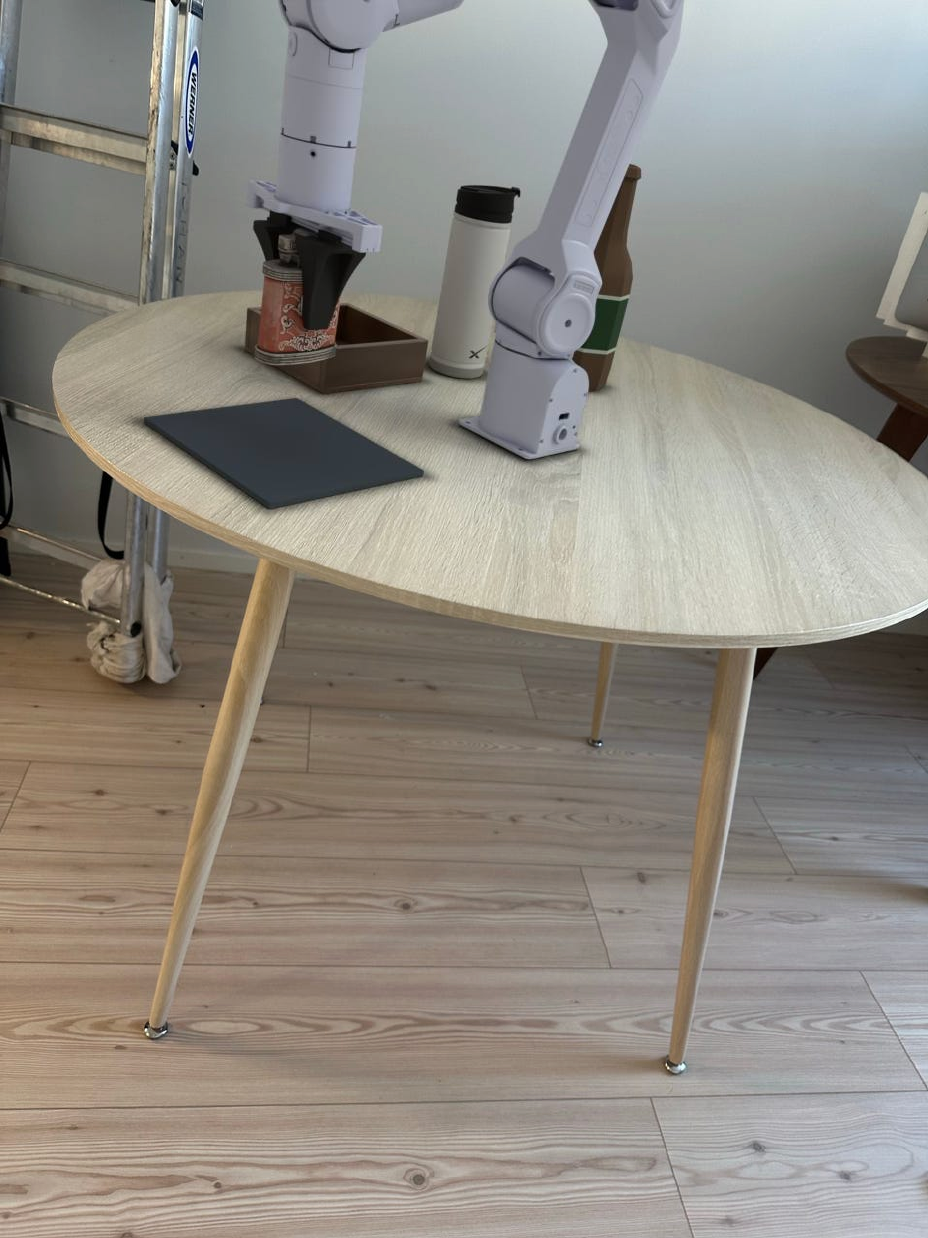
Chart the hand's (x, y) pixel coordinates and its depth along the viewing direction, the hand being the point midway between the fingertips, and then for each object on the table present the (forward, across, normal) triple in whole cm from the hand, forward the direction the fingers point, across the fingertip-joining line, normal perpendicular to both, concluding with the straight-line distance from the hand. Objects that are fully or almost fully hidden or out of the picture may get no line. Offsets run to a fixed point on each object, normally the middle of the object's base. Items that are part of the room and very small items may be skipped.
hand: (301, 320), depth 81 cm
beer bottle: (+11, -4, +44) cm, 46 cm away
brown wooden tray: (+10, -16, +17) cm, 25 cm away
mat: (+10, +2, -2) cm, 11 cm away
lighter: (+3, 0, 0) cm, 3 cm away
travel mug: (+11, -10, +31) cm, 35 cm away
